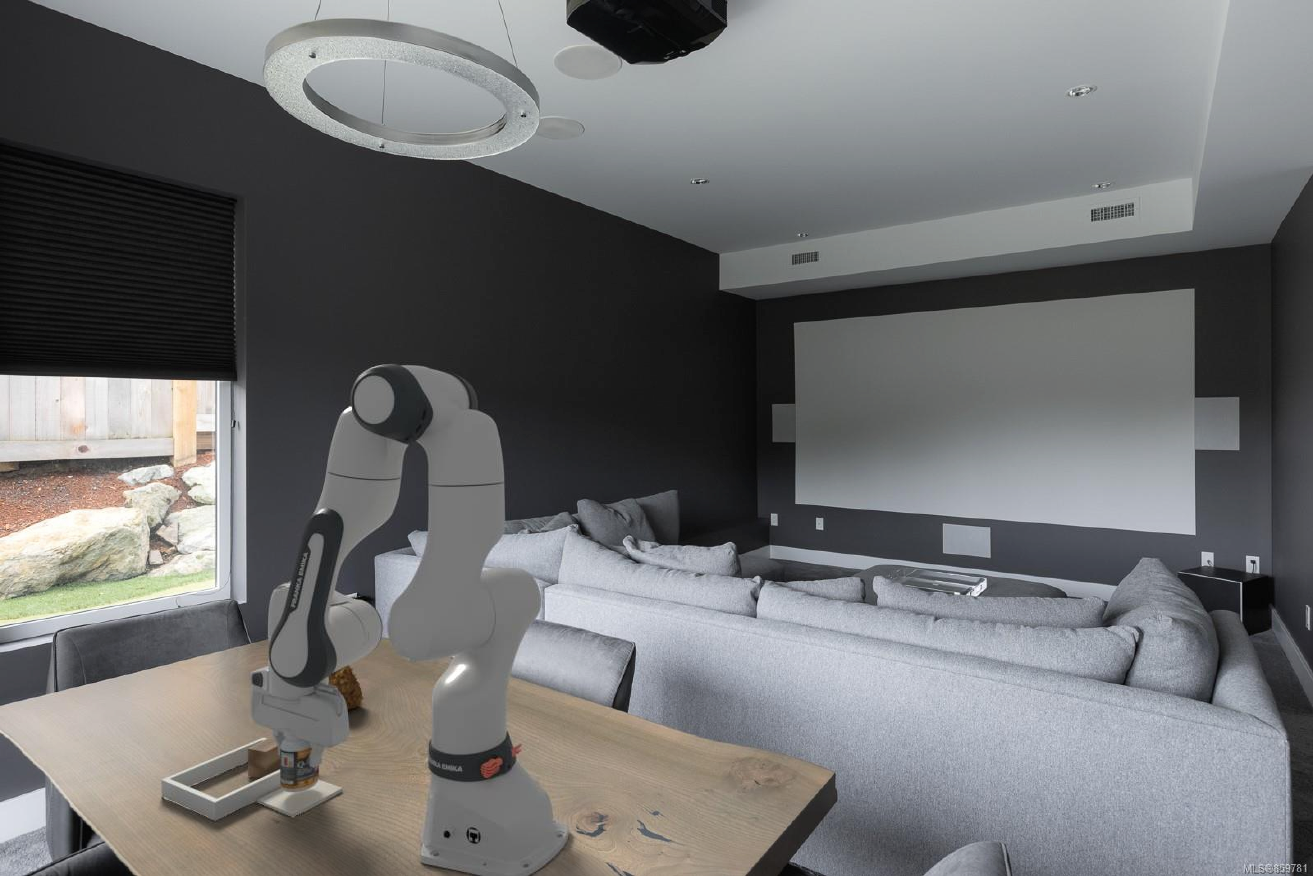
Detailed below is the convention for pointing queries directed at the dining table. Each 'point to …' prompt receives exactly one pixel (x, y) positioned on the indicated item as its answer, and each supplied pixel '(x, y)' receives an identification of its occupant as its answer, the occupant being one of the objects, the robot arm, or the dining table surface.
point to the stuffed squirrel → (347, 686)
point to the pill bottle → (296, 764)
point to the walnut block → (263, 759)
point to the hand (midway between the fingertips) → (299, 760)
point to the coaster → (299, 798)
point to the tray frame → (201, 802)
